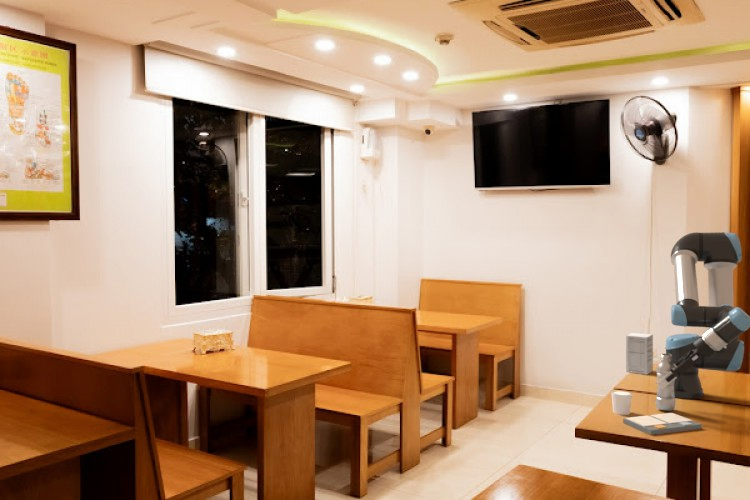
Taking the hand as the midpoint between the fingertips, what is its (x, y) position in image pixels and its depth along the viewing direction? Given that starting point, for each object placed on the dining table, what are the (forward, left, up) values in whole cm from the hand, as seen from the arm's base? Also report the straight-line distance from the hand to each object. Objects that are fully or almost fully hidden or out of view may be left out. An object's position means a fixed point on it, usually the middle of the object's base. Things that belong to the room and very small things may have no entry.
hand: (661, 381), depth 226 cm
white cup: (+15, -2, -10) cm, 19 cm away
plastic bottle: (-1, +1, -10) cm, 10 cm away
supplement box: (-34, -52, -10) cm, 63 cm away
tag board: (+13, +15, -10) cm, 22 cm away
